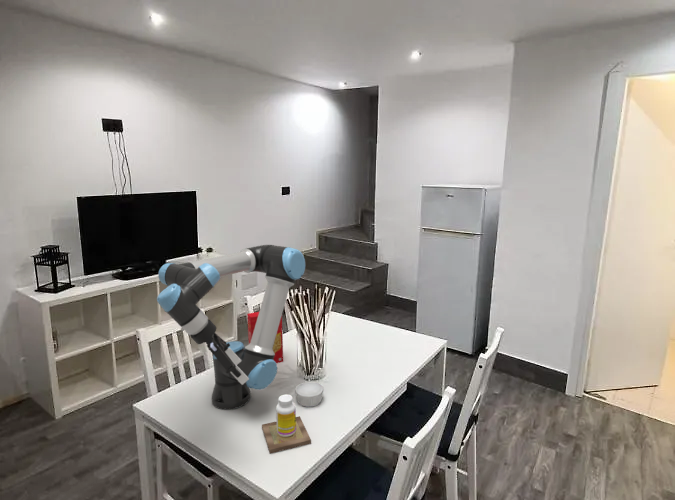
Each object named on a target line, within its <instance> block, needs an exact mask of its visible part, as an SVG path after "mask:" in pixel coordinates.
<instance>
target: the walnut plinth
mask: <svg viewBox="0 0 675 500" xmlns="http://www.w3.org/2000/svg"><path fill="white" fill-rule="evenodd" d="M261 430H262V434H263V436H264V439H265V442H266V445H267V449H268V453H269V454H275V453H278V452H283V451H287V450H291V449H294V448H296V449H297V448H298V447H299V448H300V447H303V446H307V445H311V444H312V439H311V437H310V435H309V433H308V431H307V428H306V426H305V425H304V422H303V420H302V417H301V416H296V432H295V433H294V434H293V435H291V436H288V437H282V436H280V435H279V434H278V433H277V420H276V421H272V422H267V423H263V424H261Z"/></svg>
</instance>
